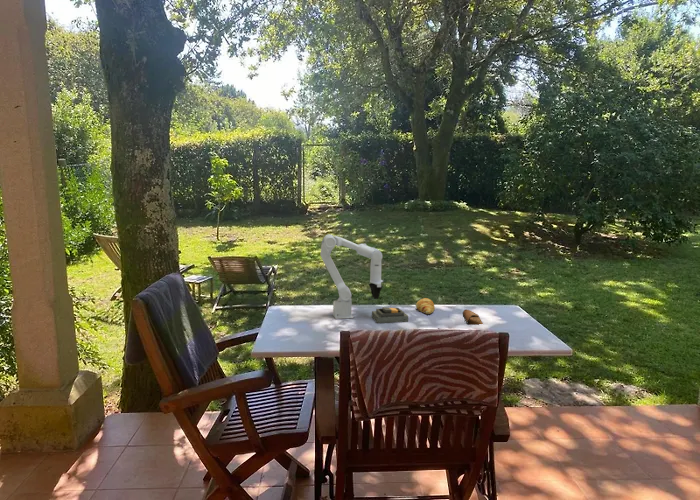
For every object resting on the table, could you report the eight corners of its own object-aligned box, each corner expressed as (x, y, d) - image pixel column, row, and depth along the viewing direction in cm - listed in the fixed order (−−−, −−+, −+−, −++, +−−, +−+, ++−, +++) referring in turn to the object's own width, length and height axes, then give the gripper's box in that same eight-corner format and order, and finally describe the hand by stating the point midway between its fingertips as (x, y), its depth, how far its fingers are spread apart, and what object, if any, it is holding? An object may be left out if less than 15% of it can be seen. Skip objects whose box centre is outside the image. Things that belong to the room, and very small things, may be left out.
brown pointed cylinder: (484, 324, 265) (478, 313, 264) (472, 331, 266) (465, 320, 265) (478, 315, 282) (472, 304, 282) (466, 321, 283) (460, 310, 283)
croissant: (433, 321, 282) (441, 309, 281) (417, 313, 281) (425, 300, 280) (425, 310, 303) (432, 298, 302) (410, 302, 301) (417, 290, 301)
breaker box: (377, 323, 266) (378, 314, 265) (371, 316, 277) (371, 308, 276) (408, 321, 269) (408, 313, 268) (400, 315, 281) (401, 307, 280)
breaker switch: (384, 312, 269) (385, 309, 269) (382, 309, 274) (382, 307, 274) (397, 313, 271) (398, 310, 271) (394, 311, 276) (395, 308, 276)
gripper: (387, 274, 269) (386, 300, 271) (379, 269, 283) (379, 294, 285) (373, 275, 267) (373, 301, 269) (366, 269, 281) (366, 294, 283)
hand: (375, 297), depth 277 cm, fingers open, 3 cm apart
